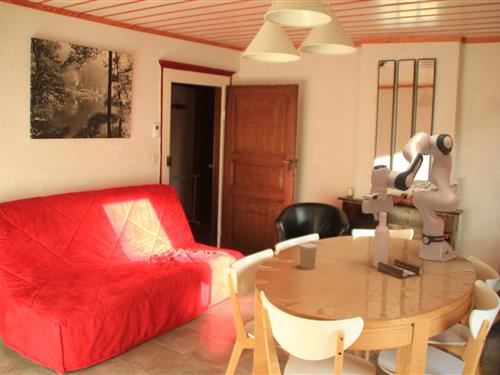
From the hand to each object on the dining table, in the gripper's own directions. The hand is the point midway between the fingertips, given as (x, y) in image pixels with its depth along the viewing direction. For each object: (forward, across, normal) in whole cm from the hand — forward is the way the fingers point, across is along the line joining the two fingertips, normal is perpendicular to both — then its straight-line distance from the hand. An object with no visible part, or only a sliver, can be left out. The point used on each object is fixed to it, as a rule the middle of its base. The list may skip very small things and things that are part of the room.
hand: (377, 220), depth 278 cm
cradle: (+25, 0, +17) cm, 30 cm away
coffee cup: (+25, +36, -14) cm, 46 cm away
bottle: (+25, 0, +4) cm, 26 cm away
